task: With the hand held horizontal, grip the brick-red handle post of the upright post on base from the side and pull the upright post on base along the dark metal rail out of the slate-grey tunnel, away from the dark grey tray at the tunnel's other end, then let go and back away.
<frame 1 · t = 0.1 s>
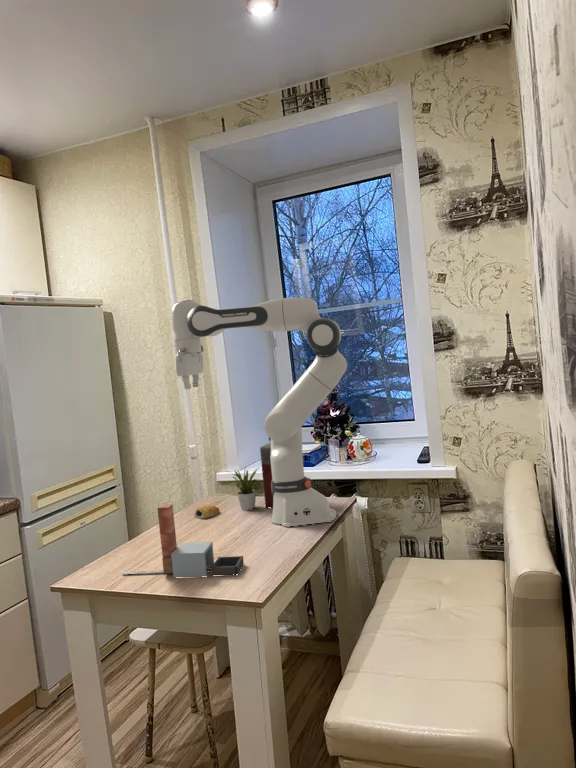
hand: (191, 388, 208), 48 cm above the table, tool pointing down, fingers open, 8 cm apart
house plant: (244, 509, 225), on the table
pastry: (206, 516, 221), on the table
upright post on base: (180, 537, 165), point 10 cm above the table, slide at 0.0 cm
tunnel: (194, 571, 165), on the table
rail: (168, 572, 166), on the table
toy vending machine: (282, 505, 226), on the table
dark grey tray: (228, 570, 164), on the table
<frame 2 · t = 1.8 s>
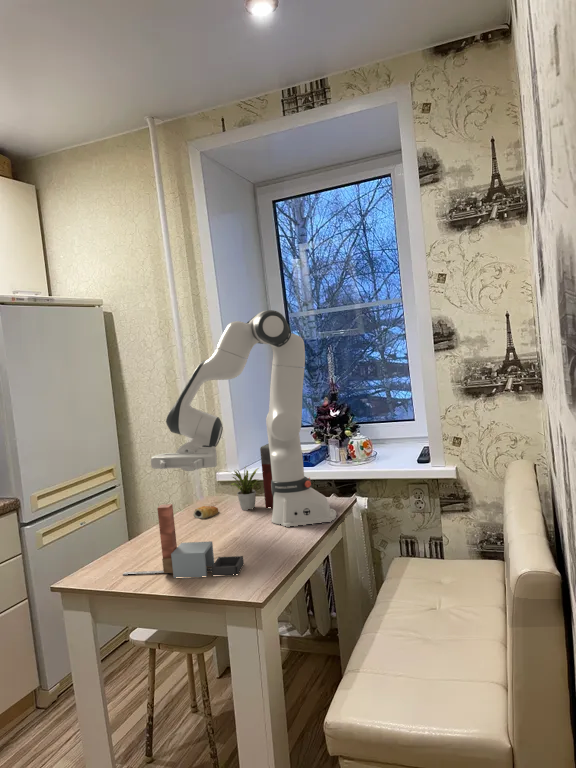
hand: (177, 465, 178), 27 cm above the table, tool horizontal, fingers open, 8 cm apart
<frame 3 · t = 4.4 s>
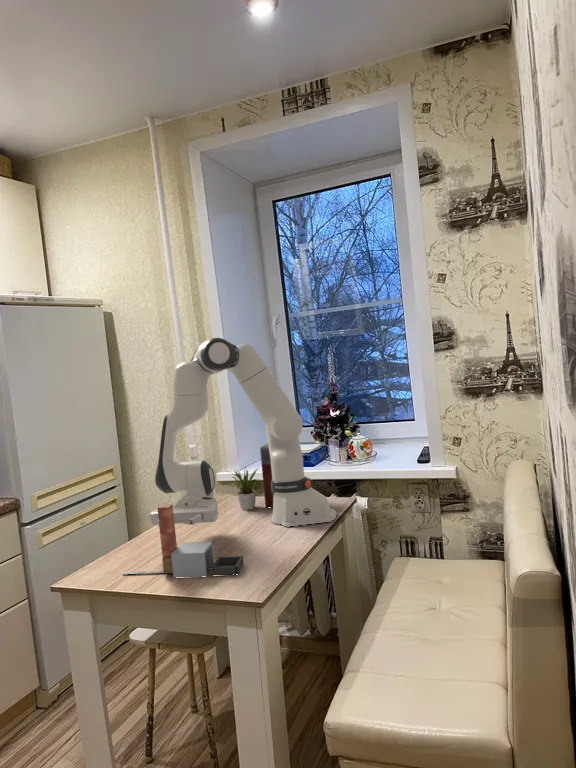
hand: (176, 522, 173), 12 cm above the table, tool horizontal, fingers open, 8 cm apart
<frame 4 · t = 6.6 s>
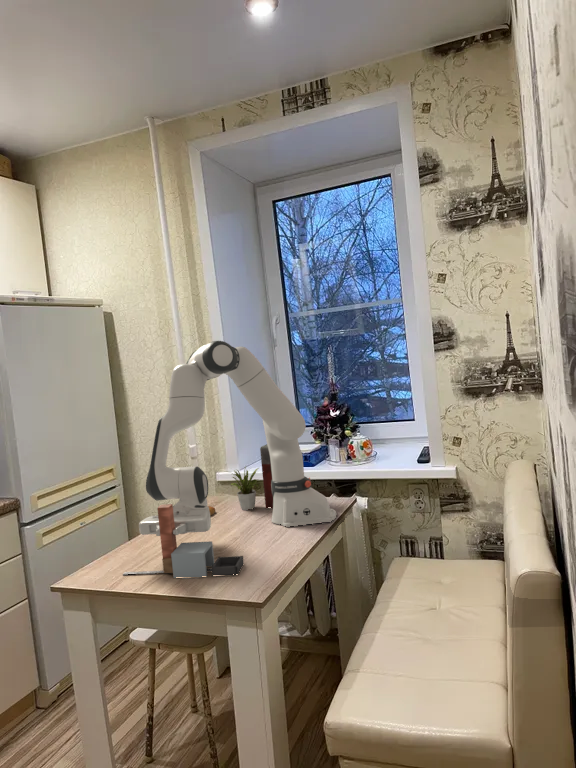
hand: (166, 532, 164), 12 cm above the table, tool horizontal, fingers closed on upright post on base, 3 cm apart
upright post on base: (180, 537, 165), point 10 cm above the table, slide at 0.0 cm, touching gripper
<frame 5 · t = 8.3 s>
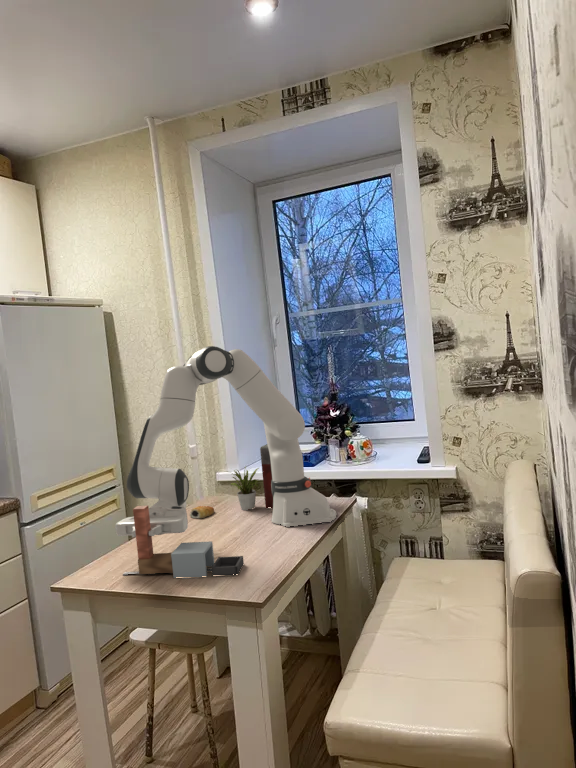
hand: (142, 534, 165), 12 cm above the table, tool horizontal, fingers closed on upright post on base, 3 cm apart
upright post on base: (156, 538, 166), point 10 cm above the table, slide at 7.0 cm, touching gripper
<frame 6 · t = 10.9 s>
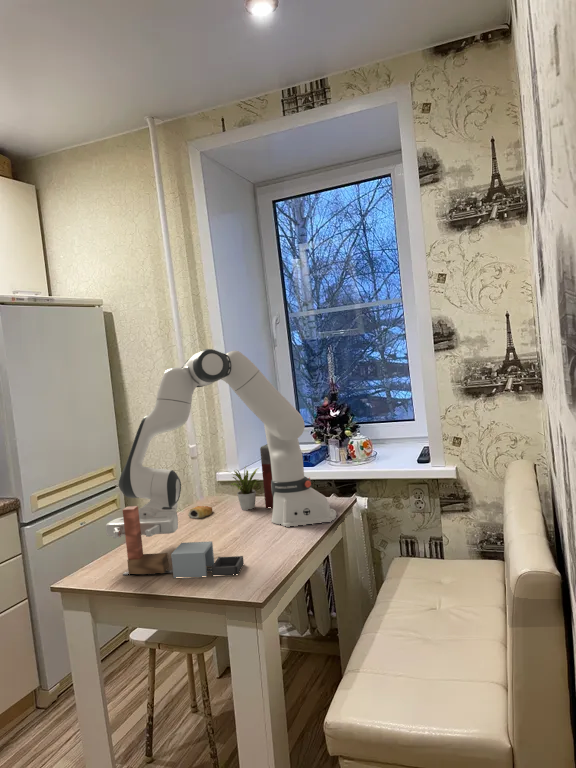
hand: (131, 534, 166), 12 cm above the table, tool horizontal, fingers open, 8 cm apart
upright post on base: (145, 539, 166), point 10 cm above the table, slide at 10.0 cm
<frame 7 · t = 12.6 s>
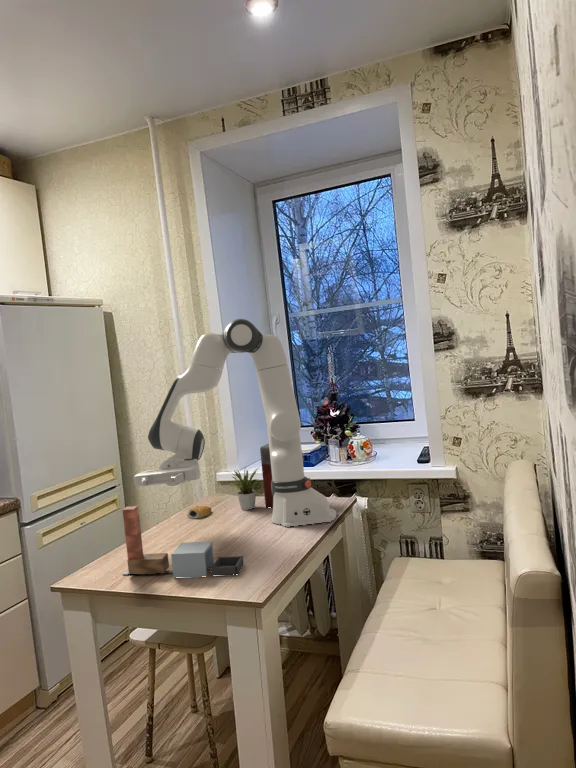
hand: (158, 481, 180), 22 cm above the table, tool horizontal, fingers open, 8 cm apart
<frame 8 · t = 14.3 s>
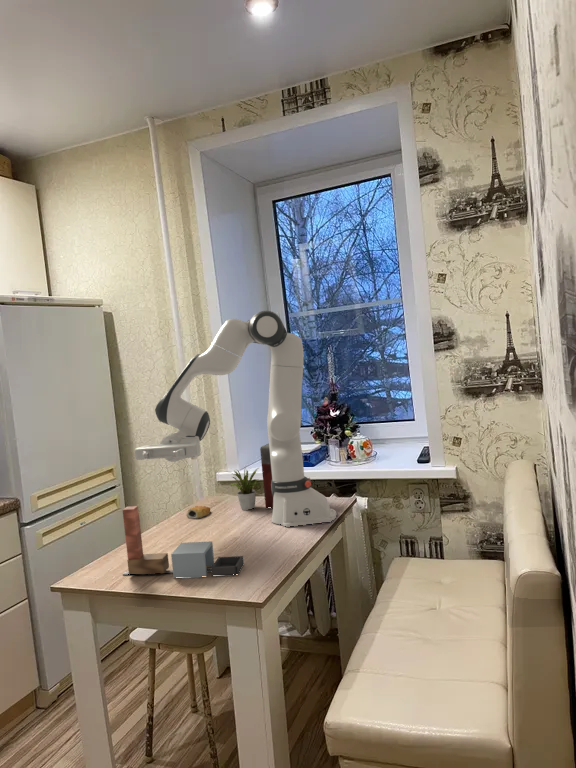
hand: (159, 455, 181), 30 cm above the table, tool horizontal, fingers open, 8 cm apart
at the end: upright post on base slide at 10.0 cm; upright post on base inside the target area (0.0 cm from its centre), resting on rail; the gripper is holding nothing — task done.
